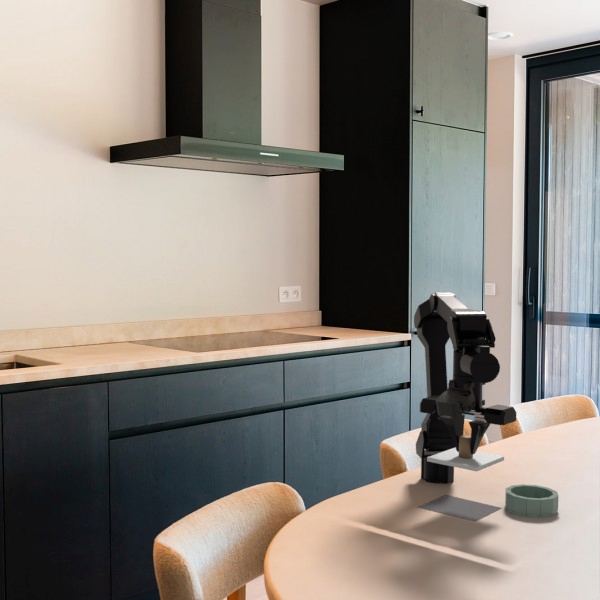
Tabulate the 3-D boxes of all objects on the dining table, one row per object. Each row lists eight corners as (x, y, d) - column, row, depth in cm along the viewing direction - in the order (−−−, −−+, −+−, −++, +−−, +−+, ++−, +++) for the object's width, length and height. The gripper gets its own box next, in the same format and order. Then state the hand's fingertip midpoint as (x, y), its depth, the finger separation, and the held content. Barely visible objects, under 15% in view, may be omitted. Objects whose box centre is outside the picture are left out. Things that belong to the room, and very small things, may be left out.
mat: (417, 509, 165) (417, 506, 165) (445, 497, 173) (445, 494, 173) (474, 524, 156) (475, 521, 156) (502, 510, 165) (502, 507, 164)
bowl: (496, 512, 164) (496, 492, 163) (519, 500, 171) (519, 481, 171) (544, 523, 157) (544, 503, 157) (565, 511, 165) (566, 491, 164)
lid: (427, 461, 163) (427, 437, 162) (455, 451, 171) (456, 428, 171) (476, 471, 155) (477, 446, 155) (504, 460, 164) (504, 436, 163)
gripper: (405, 374, 162) (403, 452, 163) (490, 385, 150) (488, 469, 151) (435, 368, 171) (433, 442, 172) (518, 378, 158) (516, 458, 159)
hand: (465, 452), depth 163 cm, fingers closed on lid, 3 cm apart
